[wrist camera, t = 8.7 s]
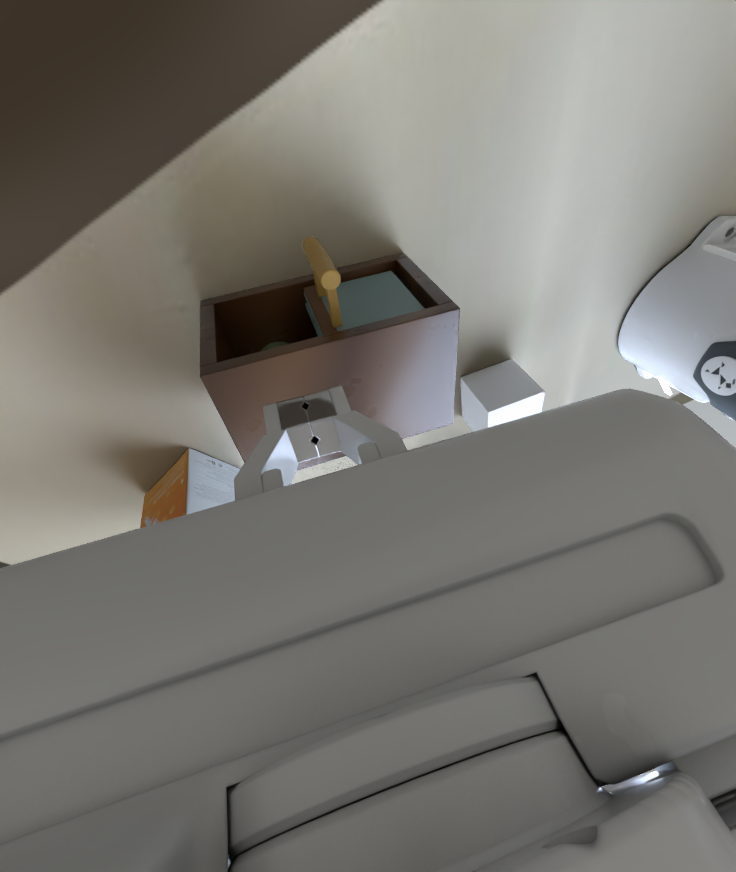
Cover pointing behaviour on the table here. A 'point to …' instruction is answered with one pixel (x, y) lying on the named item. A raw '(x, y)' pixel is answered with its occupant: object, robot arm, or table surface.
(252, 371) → the cabinet
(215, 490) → the small box
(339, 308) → the handled teal slab
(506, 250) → the table surface
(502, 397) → the white cube
